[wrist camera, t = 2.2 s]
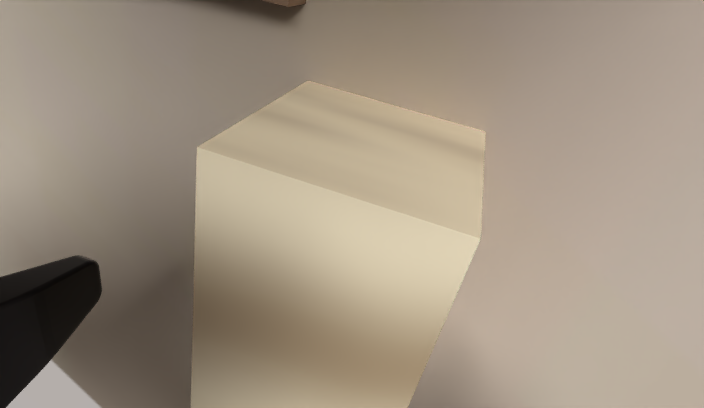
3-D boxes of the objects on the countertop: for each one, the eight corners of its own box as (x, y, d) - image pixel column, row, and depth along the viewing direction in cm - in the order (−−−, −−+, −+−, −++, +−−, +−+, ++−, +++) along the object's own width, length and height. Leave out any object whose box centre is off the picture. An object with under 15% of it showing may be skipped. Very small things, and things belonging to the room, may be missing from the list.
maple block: (403, 344, 14) (366, 502, 10) (276, 297, 15) (190, 427, 11) (485, 130, 11) (481, 238, 6) (309, 79, 11) (197, 147, 7)
